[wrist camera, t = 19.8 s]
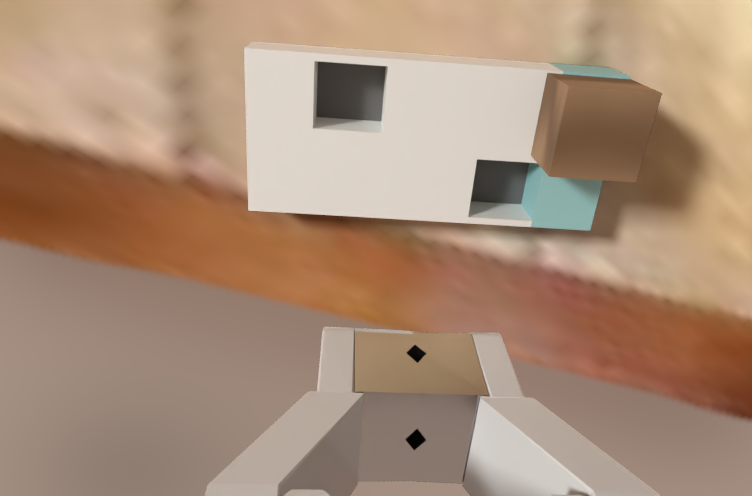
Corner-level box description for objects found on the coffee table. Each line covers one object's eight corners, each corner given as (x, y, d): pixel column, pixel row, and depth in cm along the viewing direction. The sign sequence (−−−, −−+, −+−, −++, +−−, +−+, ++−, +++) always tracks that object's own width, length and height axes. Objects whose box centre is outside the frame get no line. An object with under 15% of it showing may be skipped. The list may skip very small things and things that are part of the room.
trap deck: (253, 41, 29) (244, 47, 26) (609, 67, 29) (630, 76, 27) (256, 193, 32) (248, 210, 30) (574, 212, 33) (590, 230, 31)
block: (547, 72, 27) (569, 86, 24) (630, 79, 27) (661, 93, 24) (530, 155, 29) (549, 176, 26) (608, 161, 29) (635, 182, 26)
